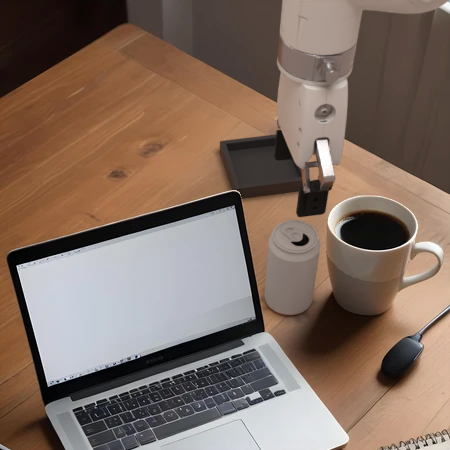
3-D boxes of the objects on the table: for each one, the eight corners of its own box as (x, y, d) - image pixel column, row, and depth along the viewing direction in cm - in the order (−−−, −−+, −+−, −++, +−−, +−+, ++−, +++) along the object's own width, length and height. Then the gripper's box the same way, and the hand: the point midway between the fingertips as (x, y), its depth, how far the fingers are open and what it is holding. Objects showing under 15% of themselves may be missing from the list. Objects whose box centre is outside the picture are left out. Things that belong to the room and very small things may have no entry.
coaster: (288, 143, 131) (289, 132, 129) (307, 190, 124) (309, 179, 123) (219, 151, 129) (219, 140, 128) (235, 199, 123) (235, 188, 121)
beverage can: (288, 326, 108) (296, 262, 98) (253, 298, 110) (258, 233, 101) (321, 301, 110) (332, 236, 101) (287, 274, 113) (295, 209, 104)
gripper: (381, 99, 77) (353, 233, 90) (327, 2, 88) (309, 134, 101) (303, 108, 76) (286, 242, 89) (258, 7, 86) (249, 141, 100)
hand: (298, 185), depth 95 cm, fingers open, 9 cm apart
